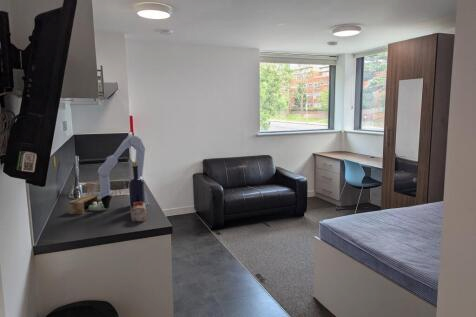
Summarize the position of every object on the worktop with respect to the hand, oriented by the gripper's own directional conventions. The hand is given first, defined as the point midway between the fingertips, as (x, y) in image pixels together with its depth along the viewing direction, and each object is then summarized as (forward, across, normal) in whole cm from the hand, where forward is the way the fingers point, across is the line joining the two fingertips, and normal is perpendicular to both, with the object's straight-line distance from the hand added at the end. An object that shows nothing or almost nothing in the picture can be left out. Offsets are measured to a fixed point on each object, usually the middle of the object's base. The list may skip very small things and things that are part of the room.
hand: (106, 208), depth 206 cm
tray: (+1, 0, -6) cm, 6 cm away
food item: (+2, +14, +28) cm, 31 cm away
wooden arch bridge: (+1, 0, -14) cm, 14 cm away
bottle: (+1, +3, +22) cm, 22 cm away
